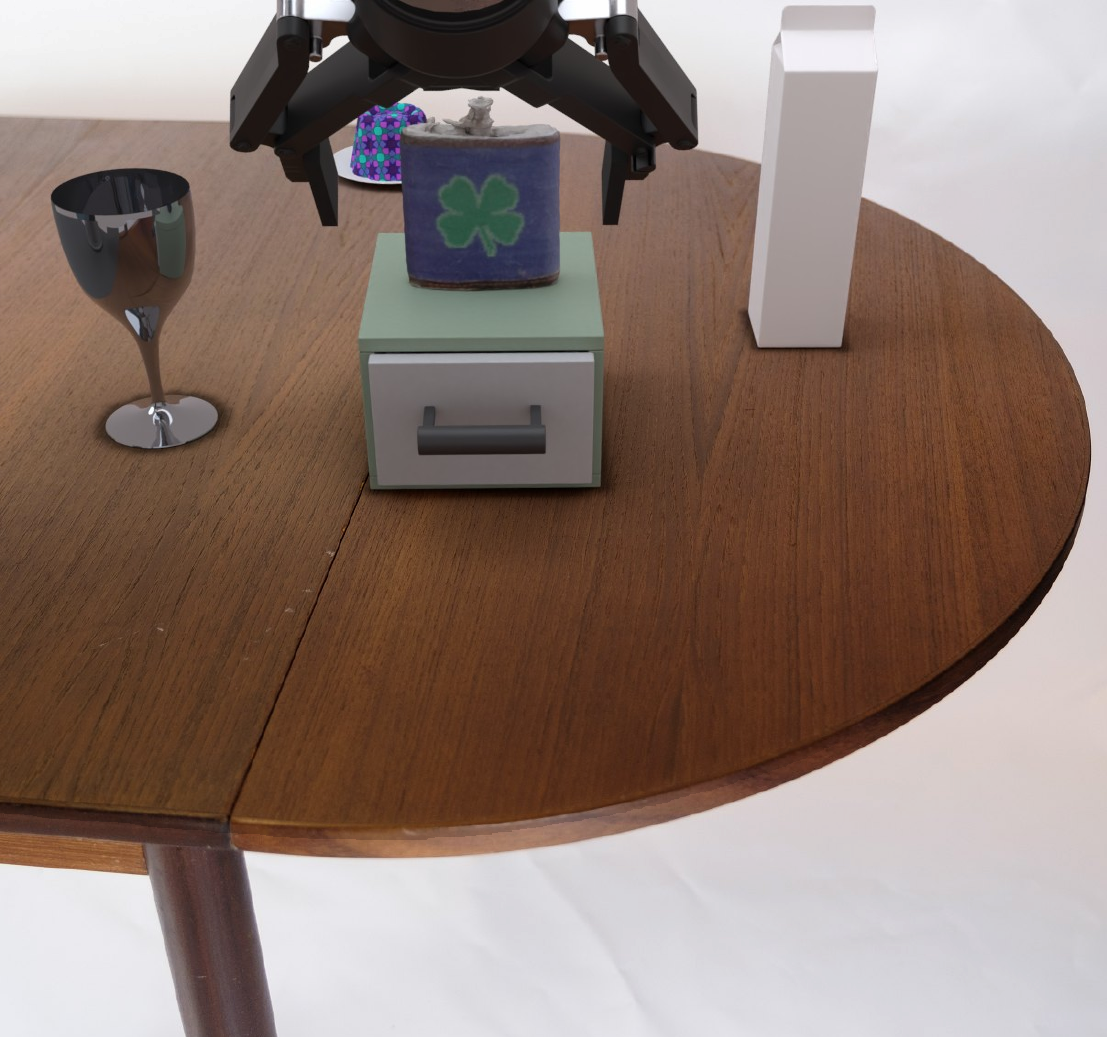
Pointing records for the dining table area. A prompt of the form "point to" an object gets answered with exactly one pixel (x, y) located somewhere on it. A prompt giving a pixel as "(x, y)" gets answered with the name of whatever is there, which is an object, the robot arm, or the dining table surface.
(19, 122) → the dining table surface
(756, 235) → the milk
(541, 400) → the drawer
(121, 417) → the wine glass
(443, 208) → the flask
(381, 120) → the pudding
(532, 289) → the cabinet
